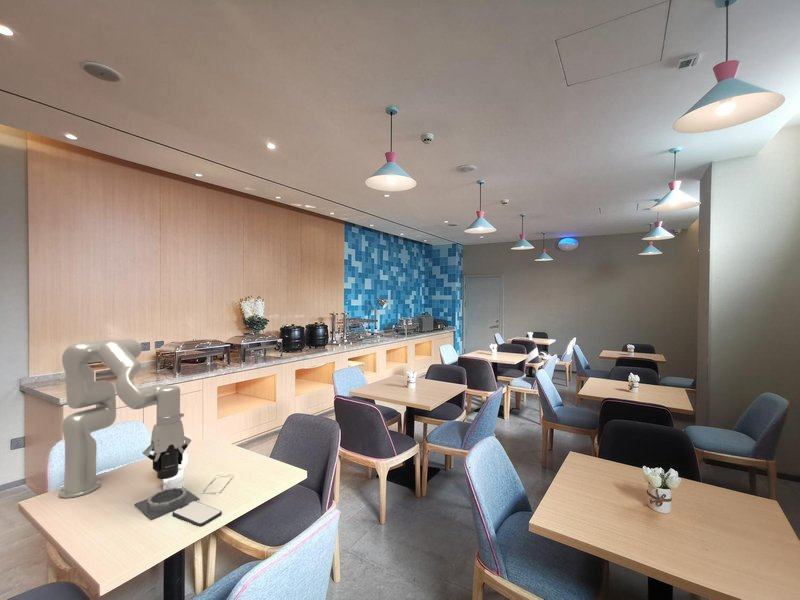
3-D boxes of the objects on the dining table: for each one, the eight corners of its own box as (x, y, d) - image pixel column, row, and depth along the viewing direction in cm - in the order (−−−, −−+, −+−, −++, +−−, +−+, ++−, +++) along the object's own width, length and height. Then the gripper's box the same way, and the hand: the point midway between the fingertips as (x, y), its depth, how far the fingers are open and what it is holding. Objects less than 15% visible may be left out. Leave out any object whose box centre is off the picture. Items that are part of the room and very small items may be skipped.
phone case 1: (223, 515, 125) (194, 504, 132) (223, 511, 125) (194, 499, 132) (200, 529, 117) (170, 516, 124) (200, 524, 117) (170, 512, 124)
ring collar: (134, 505, 131) (134, 498, 131) (181, 487, 144) (181, 481, 144) (150, 520, 121) (150, 512, 122) (199, 500, 134) (199, 493, 134)
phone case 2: (219, 495, 139) (234, 477, 154) (220, 491, 139) (234, 474, 154) (200, 496, 138) (216, 478, 153) (200, 492, 138) (216, 474, 153)
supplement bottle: (167, 480, 129) (168, 447, 129) (152, 479, 130) (152, 446, 130) (182, 472, 135) (183, 440, 136) (167, 470, 137) (168, 439, 137)
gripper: (188, 412, 143) (188, 456, 142) (137, 423, 129) (137, 473, 128) (197, 415, 138) (196, 461, 138) (145, 427, 124) (144, 478, 124)
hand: (168, 466), depth 133 cm, fingers closed on supplement bottle, 6 cm apart
